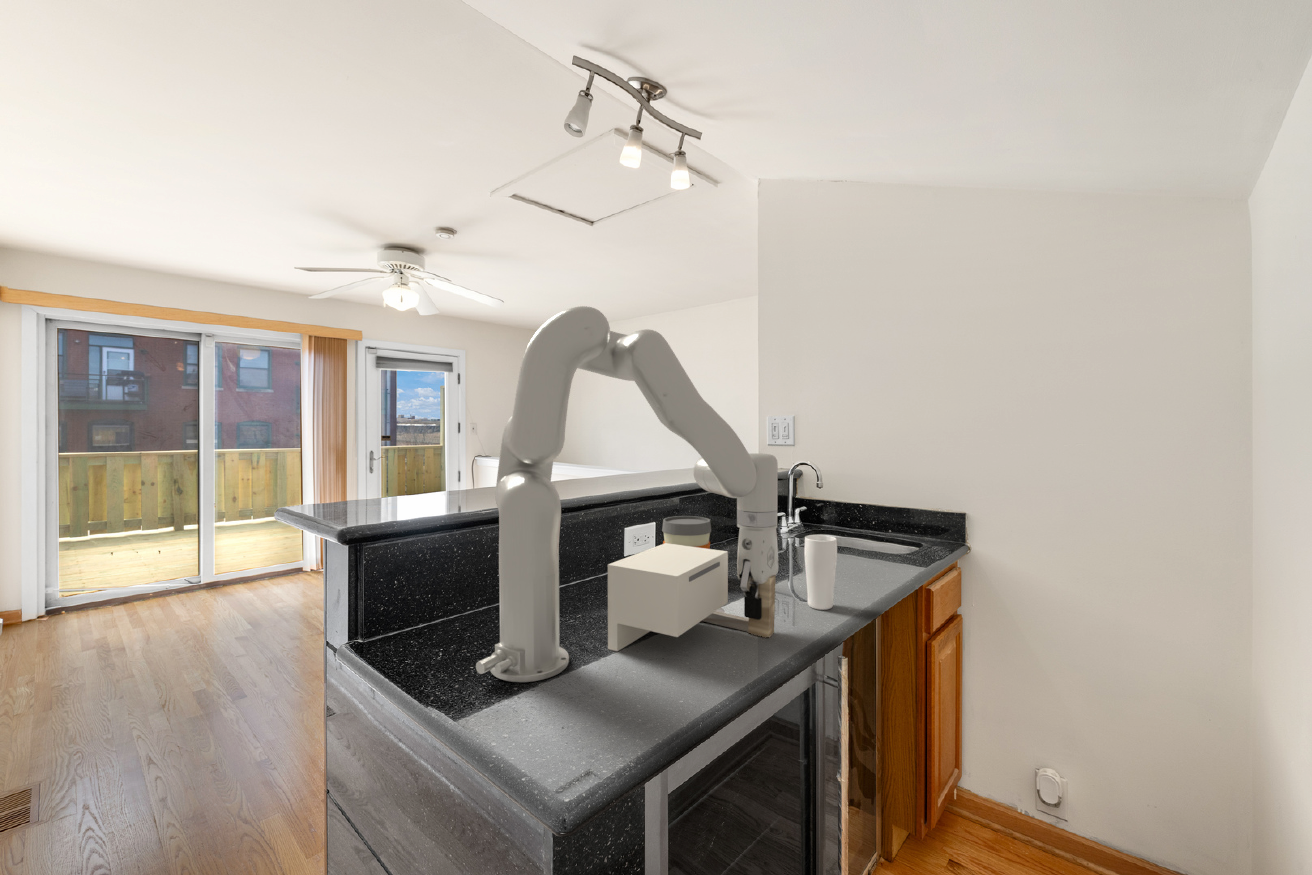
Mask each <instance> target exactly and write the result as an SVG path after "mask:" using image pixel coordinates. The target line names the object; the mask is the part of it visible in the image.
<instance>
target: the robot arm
mask: <svg viewBox="0 0 1312 875" xmlns="http://www.w3.org/2000/svg"><path fill="white" fill-rule="evenodd" d="M520 365H521V366H520V368H519V370H520V371H519V375H518V380H517V386H516V392H515V398H514V405H513V410H512V415H511V417H509V419H508V420H507V421H506V423H505V426H504V428H503V433H502V438H501V442H500V443H501V444H500V453H499V459H498V469H497V475H496V476H497V477H496V483H495V484H496V485H495V504H496V507H497V509H498V517H499V518H498V524H499V527H498V528H499V530H498V532H499V533H498V578H499V581H498V582H499V642H498V643H496V644H494V652H492V654H491V655H490V656H487V657H485V658H483V659H481V660H478V661H477V662H476V664H475V669H476V672H477V673H478V674H479V675H482V674H485V673H486V672H490V673H491V674H492V675H493V677H496V678H497V679H499V680H503V681H505V682H511V683H529V682H530V683H531V682H537V681H542V680H545V679H549V678H552V677H555V676H556V675H558V674H560V673H562V672H563V671H564V670H565V669H566V668H567V667H568V666H569V663H570V655H569V653H568V651H567V650H566V649H565V648H563V647H561V646H560V568H559V567H560V564H559V563H560V562H559V560H560V555H559V554H560V553H559V552H560V551H559V550H560V547H559V546H560V545H559V544H560V532H561V519H562V504H561V498H560V495H559V493H558V492H559V491H558V490H557V488H556V487H555V485H554V484H553V483H552V474H553V467H554V461H555V459H557V457H558V456H559V455H560V454H561V452H562V450H563V448H564V445H565V444H564V443H565V440H566V425H567V416H568V407H569V398H570V394H571V388H572V382H573V379H574V376H575V373H576V372H577V369H580V370H583V371H587V372H591V373H595V374H598V375H601V376H604V377H610V378H614V379H619V380H623V381H628V382H629V381H631V382H634V383H635V384H636V386H637V387H638V389H639V391H640V392H641V393H642V395H643V397H644V398H645V400H646V401H647V403H648V404H649V407H651V409H652V411H653V413H655V416H656V417H657V419H658V420H659V422H660V423H661V425H663V426H664V427H666V428H667V429H668V430H669V431H671V432H672V433H673V434H675V435H676V436H678V437H680V438H681V439H682V440H684V441H685V442H687V444H688V445H690V446H691V447H692V448H693V449H694V450H695V451H696V452H697V453H698V454H699V456H700V457H699V459H698V460H697V461H696V463H695V464H694V467H693V477H694V480H695V483H696V484H697V485H698V486H699V487H700V488H701V489H703V490H705V491H706V492H709V493H713V494H717V495H720V496H721V495H722V496H724V497H728V498H732V499H736V527H737V528H739V529H738V530H739V531H738V539H737V540H738V541H737V542H738V543H737V555H736V556H737V559H736V571H737V572H736V575H737V579H738V580H739V581H740V587H739V588H740V589H741V590H742V591H743V597H744V598H743V600H744V605H743V606H744V607H743V608H744V613H743V614H744V615H743V617H744V618H752V619H757V620H760V619H761V611H762V598H759V597H760V584H763V583H765V582H766V581H768V579H769V578H770V577H772V576H773V575H775V576H776V575H777V574H778V572H779V548H778V547H779V545H778V534H777V529H778V478H779V477H778V470H779V469H778V468H779V467H778V466H779V464H778V460H777V458H776V456H775V455H773V454H770V453H749V451H748V450H747V449H746V447H745V444H744V443H743V441H742V440H741V439H740V437H739V436H738V434H737V433H736V431H735V430H734V428H732V426H731V425H729V424H728V422H727V421H726V420H725V419H724V418H723V417H722V416H720V414H719V413H718V412H717V411H716V410H715V409H714V407H712V406H711V405H710V404H709V403H708V402H706V400H704V399H703V397H702V396H701V394H700V393H699V391H698V390H697V388H696V387H695V385H694V383H693V382H692V380H691V379H690V377H689V375H688V374H687V372H686V370H685V368H684V367H683V365H682V364H681V362H680V361H679V359H678V357H677V355H676V354H675V352H674V351H673V349H672V347H671V345H670V344H669V343H668V341H667V340H666V338H665V337H664V336H663V335H662V334H661V333H660V332H658V331H656V330H654V329H648V328H647V329H640V330H637V331H634V332H632V333H630V334H624V333H620V332H616V331H612V330H611V328H610V323H609V321H608V319H607V317H606V315H604V313H603V312H601V310H599V309H597V308H595V307H592V306H588V305H587V306H585V305H584V306H583V305H582V306H581V305H580V306H575V307H571V308H567V309H565V310H563V311H561V312H559V313H557V314H555V315H553V316H551V317H550V318H549V319H547V320H546V321H545V322H544V323H542V325H541V326H540V327H539V328H538V329H537V330H536V332H535V333H534V334H533V336H532V337H531V339H530V341H529V342H528V344H527V346H526V349H525V351H524V354H523V357H522V360H521V364H520ZM751 578H753V579H754V580H750V579H751ZM750 584H752V585H755V588H754V586H751V585H750Z"/></svg>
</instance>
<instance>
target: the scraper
mask: <svg viewBox="0 0 1312 875" xmlns="http://www.w3.org/2000/svg"><path fill="white" fill-rule="evenodd" d="M776 577H777V576H776V575H773V576H772V577H770V578H769V579H768V581H766V582H765V583H763V584H760V597H759V598H762V611H761V619H760V620H757V619H752V618H747V617H745V616H740V615H739V616H738V615H734V614H730V613H727V612H724V613H722V612H717V611H715V612H713V613H712V614H710V615H709V616H708V617H706V618H705V619H703V620H702V621H701V622H705V623H709V624H714V625H717V626H721V627H726V628H730V629H735V630H739V631H743V632H747V634H749V633H751V634H750V635H753V634H755V635H754V636H757V635H758V637H761V636H762V637H761V638H766V637H769V638H770V637H772V636H773V635H774V634H775V614H776V613H775V611H776V610H775V608H776V607H775V606H776V579H777V578H776ZM750 580H754V579H753V578H751V579H750ZM750 585H751V586H754V588H755V585H752V584H750ZM773 633H774V634H773Z"/></svg>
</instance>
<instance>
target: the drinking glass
mask: <svg viewBox="0 0 1312 875" xmlns="http://www.w3.org/2000/svg"><path fill="white" fill-rule="evenodd" d="M803 549H804V565H805V566H804V567H805V568H804V569H805V580H806V592H807V593H806V594H807V602H806V603H807V605H808V606H809V607H810V608H812V609H814V610H820V611H823V610H824V611H827V610H831V609H832V608H833V606H834V595H835V594H834V592H835V584H836V581H835V580H836V572H837V571H836V570H837V562H838V539H837V538H836V537H834V536H831V535H826V534H809V535H805V536H804V548H803Z"/></svg>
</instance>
